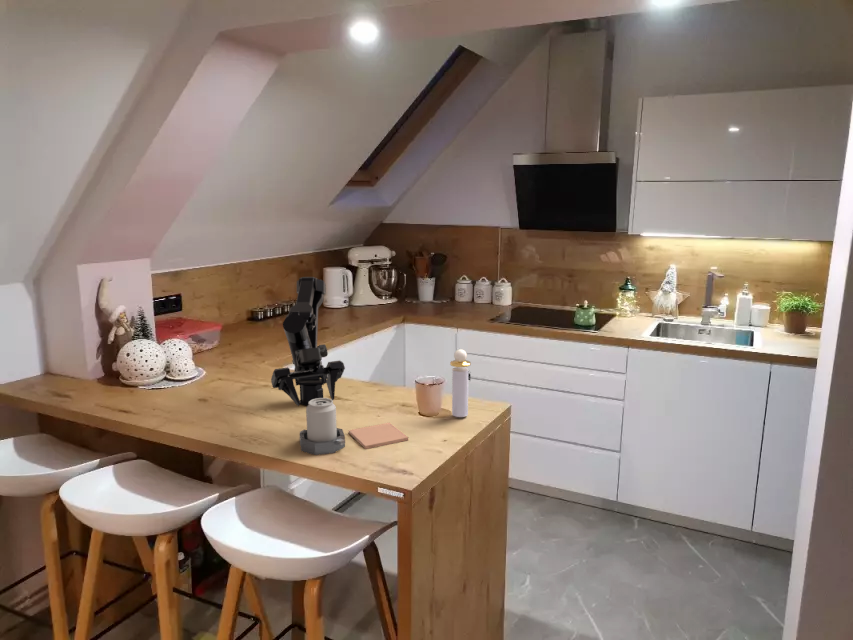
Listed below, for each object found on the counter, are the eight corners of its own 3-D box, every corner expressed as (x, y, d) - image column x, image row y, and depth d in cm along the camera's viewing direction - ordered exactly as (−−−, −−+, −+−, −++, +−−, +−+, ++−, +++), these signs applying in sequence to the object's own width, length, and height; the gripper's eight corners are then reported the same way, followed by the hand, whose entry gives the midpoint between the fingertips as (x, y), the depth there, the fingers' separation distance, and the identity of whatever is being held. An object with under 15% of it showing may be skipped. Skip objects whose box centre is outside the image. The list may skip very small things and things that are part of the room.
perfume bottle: (461, 421, 181) (461, 353, 177) (445, 416, 185) (446, 349, 181) (474, 416, 185) (475, 349, 181) (458, 411, 189) (459, 345, 185)
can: (338, 439, 169) (336, 396, 167) (335, 451, 162) (334, 405, 159) (309, 440, 169) (307, 396, 166) (305, 451, 162) (303, 406, 159)
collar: (287, 447, 164) (287, 436, 163) (316, 433, 173) (315, 422, 173) (329, 458, 157) (328, 447, 157) (356, 443, 167) (356, 432, 166)
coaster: (348, 432, 173) (348, 430, 173) (389, 425, 179) (389, 422, 179) (365, 448, 163) (365, 446, 163) (408, 440, 168) (408, 437, 168)
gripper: (271, 338, 163) (285, 392, 156) (341, 331, 171) (357, 381, 164) (265, 361, 172) (278, 413, 164) (332, 353, 180) (347, 402, 173)
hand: (316, 402), depth 166 cm, fingers open, 9 cm apart
